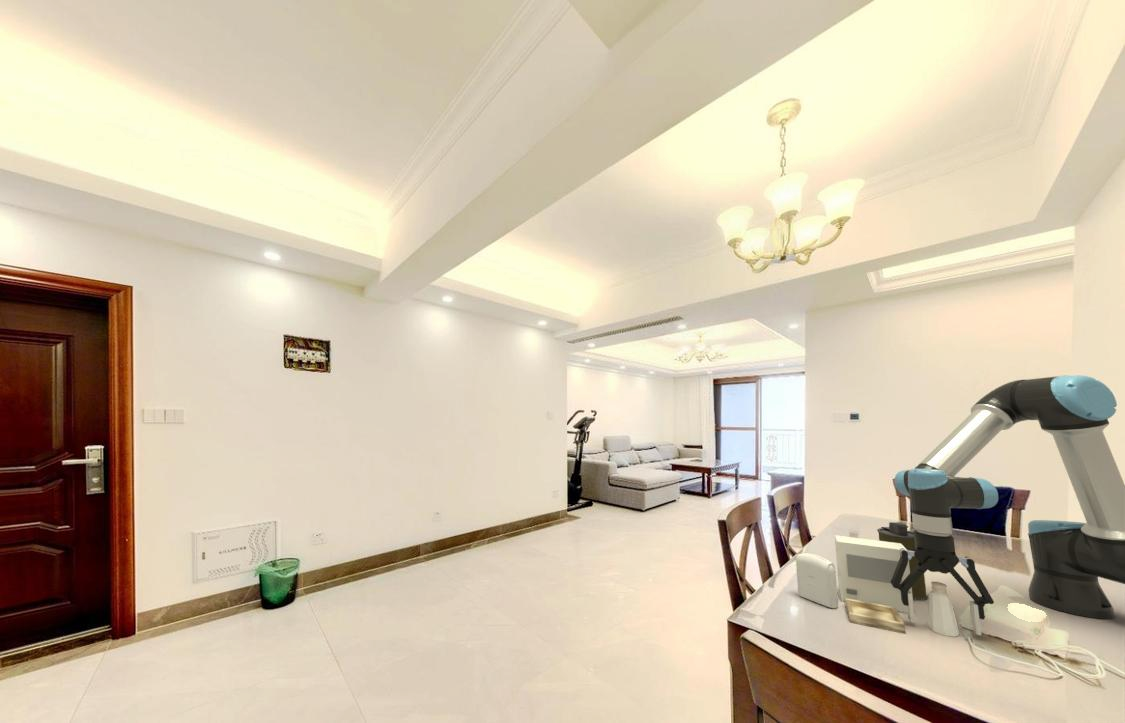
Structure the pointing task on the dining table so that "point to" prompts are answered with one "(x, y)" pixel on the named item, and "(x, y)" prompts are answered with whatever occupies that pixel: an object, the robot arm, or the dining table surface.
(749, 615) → the dining table surface
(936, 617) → the pepper shaker
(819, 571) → the photo printer
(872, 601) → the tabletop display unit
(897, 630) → the tray
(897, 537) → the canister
